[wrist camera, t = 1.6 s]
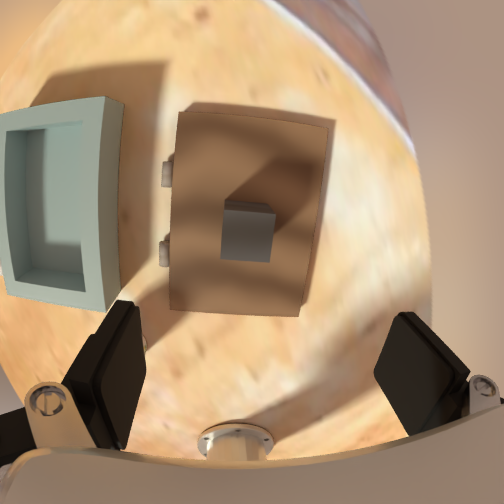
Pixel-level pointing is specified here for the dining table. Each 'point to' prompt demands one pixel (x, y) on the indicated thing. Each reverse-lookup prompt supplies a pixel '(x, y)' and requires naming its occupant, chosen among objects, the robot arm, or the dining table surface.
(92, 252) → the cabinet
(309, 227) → the door
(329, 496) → the robot arm
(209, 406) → the dining table surface
